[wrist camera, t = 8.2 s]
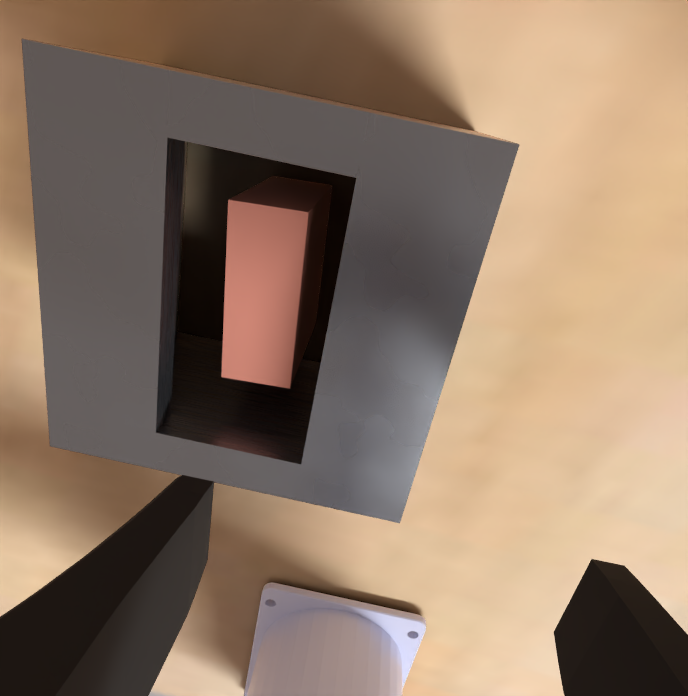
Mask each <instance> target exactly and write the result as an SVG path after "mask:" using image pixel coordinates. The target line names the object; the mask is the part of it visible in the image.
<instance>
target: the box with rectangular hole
mask: <svg viewBox="0 0 688 696" xmlns="http://www.w3.org/2000/svg"><path fill="white" fill-rule="evenodd" d="M22 50H23V65H24V79H25V94H26V108H27V122H28V137H29V151H30V166H31V180H32V194H33V209H34V223H35V237H36V252H37V266H38V281H39V295H40V309H41V324H42V338H43V353H44V367H45V381H46V396H47V410H48V425H49V439H50V446H51V447H56V448H61V449H65V450H70V451H74V452H79V453H83V454H88V455H92V456H97V457H102V458H106V459H111V460H115V461H120V462H124V463H129V464H133V465H138V466H142V467H147V468H152V469H156V470H161V471H165V472H170V473H174V474H179V475H186V476H190V477H195V478H200V479H205V480H210V481H214V482H215V483H220V484H224V485H229V486H233V487H238V488H243V489H247V490H252V491H256V492H261V493H265V494H270V495H274V496H279V497H284V498H288V499H293V500H297V501H302V502H306V503H311V504H315V505H320V506H324V507H329V508H334V509H338V510H343V511H347V512H352V513H356V514H361V515H365V516H370V517H375V518H379V519H384V520H388V521H393V522H397V523H400V521H401V518H402V514H403V511H404V508H405V505H406V502H407V499H408V495H409V492H410V489H411V486H412V483H413V480H414V476H415V473H416V470H417V467H418V464H419V461H420V457H421V454H422V451H423V448H424V445H425V442H426V438H427V435H428V432H429V429H430V426H431V423H432V419H433V416H434V413H435V410H436V407H437V404H438V400H439V397H440V394H441V391H442V388H443V385H444V381H445V378H446V375H447V372H448V369H449V366H450V362H451V359H452V356H453V353H454V350H455V347H456V343H457V340H458V337H459V334H460V331H461V328H462V324H463V321H464V318H465V315H466V312H467V309H468V305H469V302H470V299H471V296H472V293H473V290H474V286H475V283H476V280H477V277H478V274H479V271H480V267H481V264H482V261H483V258H484V255H485V252H486V248H487V245H488V242H489V239H490V236H491V233H492V229H493V226H494V223H495V220H496V217H497V214H498V210H499V207H500V204H501V201H502V198H503V195H504V191H505V188H506V185H507V182H508V179H509V176H510V172H511V169H512V166H513V163H514V160H515V157H516V153H517V150H518V147H519V144H517V143H513V142H510V141H507V140H503V139H500V138H497V137H493V136H490V135H487V134H483V133H480V132H476V131H472V130H467V129H463V128H458V127H453V126H448V125H444V124H439V123H434V122H430V121H425V120H420V119H415V118H411V117H406V116H401V115H397V114H392V113H387V112H382V111H378V110H373V109H368V108H364V107H359V106H354V105H349V104H345V103H340V102H335V101H331V100H326V99H321V98H316V97H312V96H307V95H302V94H298V93H293V92H288V91H283V90H279V89H274V88H269V87H265V86H260V85H255V84H250V83H246V82H241V81H236V80H232V79H227V78H222V77H217V76H213V75H208V74H203V73H199V72H194V71H189V70H184V69H180V68H175V67H170V66H166V65H161V64H156V63H150V62H145V61H139V60H134V59H129V58H123V57H118V56H112V55H107V54H102V53H96V52H91V51H85V50H80V49H75V48H69V47H64V46H58V45H53V44H48V43H42V42H37V41H31V40H26V39H22ZM188 142H191V143H196V144H200V145H205V146H210V147H214V148H219V149H224V150H228V151H233V152H238V153H242V154H247V155H252V156H256V157H261V158H266V159H270V160H275V161H280V162H285V163H289V164H294V165H299V166H303V167H308V168H313V169H317V170H322V171H327V172H331V173H336V174H341V175H345V176H350V177H355V178H356V183H355V188H354V193H353V198H352V204H351V209H350V214H349V219H348V224H347V230H346V235H345V240H344V245H343V250H342V255H341V261H340V266H339V271H338V276H337V281H336V287H335V292H334V297H333V302H332V307H331V313H330V318H329V323H328V328H327V333H326V338H325V344H324V349H323V354H322V359H321V363H320V362H316V361H311V360H306V359H302V360H301V362H300V365H299V367H298V370H297V372H296V375H295V377H294V380H293V382H292V385H291V387H290V389H289V388H283V387H277V386H271V385H265V384H259V383H253V382H247V381H241V380H236V379H230V378H224V377H221V374H222V348H223V341H219V340H214V339H210V338H205V337H200V336H196V335H191V334H187V333H182V332H177V327H178V309H179V290H180V272H181V254H182V236H183V218H184V200H185V181H186V163H187V145H188Z"/></svg>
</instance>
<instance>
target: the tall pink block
mask: <svg viewBox="0 0 688 696" xmlns="http://www.w3.org/2000/svg"><path fill="white" fill-rule="evenodd" d="M332 186H333V185H328V184H322V183H315V182H309V181H302V180H296V179H290V178H283V177H277V176H272V177H270V178H268V179H266V180H265V181H263V182H261V183H259V184H257V185H255V186H253V187H251V188H249V189H248V190H246V191H244V192H242V193H240V194H238V195H236V196H234V197H232V198H230V199H229V200H228V219H227V245H226V270H225V296H224V322H223V348H222V374H221V377H224V378H230V379H236V380H241V381H247V382H253V383H259V384H265V385H271V386H277V387H283V388H289V389H290V387H291V385H292V382H293V380H294V377H295V375H296V372H297V370H298V367H299V365H300V362H301V360H302V357H303V354H304V352H305V349H306V347H307V344H308V342H309V339H310V337H311V334H312V332H313V329H314V327H315V324H316V317H317V309H318V301H319V292H320V284H321V276H322V268H323V259H324V251H325V243H326V235H327V227H328V218H329V210H330V202H331V194H332Z"/></svg>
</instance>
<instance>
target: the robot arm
mask: <svg viewBox="0 0 688 696" xmlns="http://www.w3.org/2000/svg"><path fill="white" fill-rule="evenodd" d="M213 487H214V481H210V480H205V479H200V478H195V477H190V476H186V475H182V476H180V477H178V478H177V479H175V480H174V481H173V482H172V483H171V484H170V485H169V486H168V487H167V488H165V489H164V490H163V491H162V492H161V493H160V494H159V495H158V496H157V497H155V498H154V499H153V500H152V501H151V502H150V503H149V504H147V505H146V506H145V507H144V508H143V509H142V510H141V511H139V512H138V513H137V514H136V515H135V516H134V517H132V518H131V519H130V520H129V521H128V522H127V523H125V524H124V525H123V526H122V527H120V528H119V529H118V530H117V531H115V532H114V533H113V534H112V535H111V536H109V537H108V538H107V539H106V540H104V541H103V542H102V543H101V544H99V545H98V546H97V547H96V548H95V549H93V550H92V551H91V552H90V553H88V554H87V555H86V556H84V557H83V558H82V559H80V560H79V561H78V562H76V563H75V564H74V565H72V566H71V567H70V568H68V569H67V570H66V571H64V572H63V573H62V574H60V575H59V576H58V577H56V578H55V579H53V580H52V581H51V582H49V583H48V584H47V585H45V586H44V587H43V588H41V589H40V590H39V591H37V592H36V593H34V594H33V595H32V596H30V597H29V598H27V599H26V600H24V601H23V602H21V603H20V604H19V605H17V606H16V607H14V608H13V609H11V610H10V611H8V612H7V613H5V614H4V615H2V616H1V617H0V696H148V695H149V693H150V691H151V689H152V687H153V685H154V683H155V681H156V679H157V677H158V675H159V673H160V671H161V669H162V666H163V664H164V662H165V660H166V658H167V656H168V654H169V652H170V650H171V648H172V646H173V644H174V642H175V640H176V637H177V635H178V633H179V631H180V629H181V627H182V625H183V623H184V621H185V619H186V617H187V614H188V612H189V609H190V607H191V604H192V601H193V599H194V596H195V593H196V591H197V588H198V585H199V582H200V579H201V577H202V574H203V571H204V568H205V565H206V562H207V560H208V547H209V535H210V523H211V511H212V499H213ZM425 630H426V620H425V618H424V617H422V616H421V615H418V614H414V613H409V612H405V611H400V610H396V609H391V608H387V607H382V606H378V605H373V604H369V603H364V602H360V601H355V600H350V599H346V598H341V597H337V596H332V595H328V594H323V593H319V592H314V591H310V590H305V589H301V588H296V587H292V586H287V585H283V584H278V583H272V582H271V583H267V584H266V585H264V587H263V591H262V595H261V601H260V606H259V612H258V618H257V623H256V629H255V635H254V640H253V646H252V652H251V658H250V663H249V669H248V675H247V680H246V686H245V692H244V696H402V689H403V686H404V684H405V681H406V679H407V676H408V674H409V671H410V668H411V666H412V663H413V661H414V658H415V656H416V653H417V651H418V648H419V645H420V643H421V640H422V638H423V635H424V633H425ZM554 636H555V643H556V650H557V656H558V663H559V669H560V674H561V680H562V686H563V691H564V695H565V696H688V635H687V634H686V632H685V631H684V630H683V629H682V628H681V627H680V626H679V625H678V624H677V622H676V621H675V620H674V619H673V618H672V617H671V616H670V615H669V613H668V612H667V611H666V610H665V609H664V608H663V607H662V606H661V605H660V603H659V602H658V601H657V600H656V599H655V598H654V597H653V596H652V595H651V594H650V592H649V591H648V590H647V589H646V588H645V587H644V586H643V585H642V584H641V583H640V582H639V581H638V579H637V578H636V577H635V576H634V575H633V574H632V573H631V572H630V571H629V570H628V569H627V568H626V567H625V566H623V565H618V564H613V563H608V562H603V561H599V560H594V559H592V560H591V561H590V563H589V565H588V567H587V569H586V571H585V573H584V575H583V577H582V579H581V581H580V583H579V585H578V587H577V588H576V590H575V592H574V594H573V596H572V598H571V600H570V602H569V604H568V606H567V608H566V610H565V612H564V613H563V615H562V617H561V619H560V621H559V623H558V625H557V627H556V629H555V631H554Z"/></svg>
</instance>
